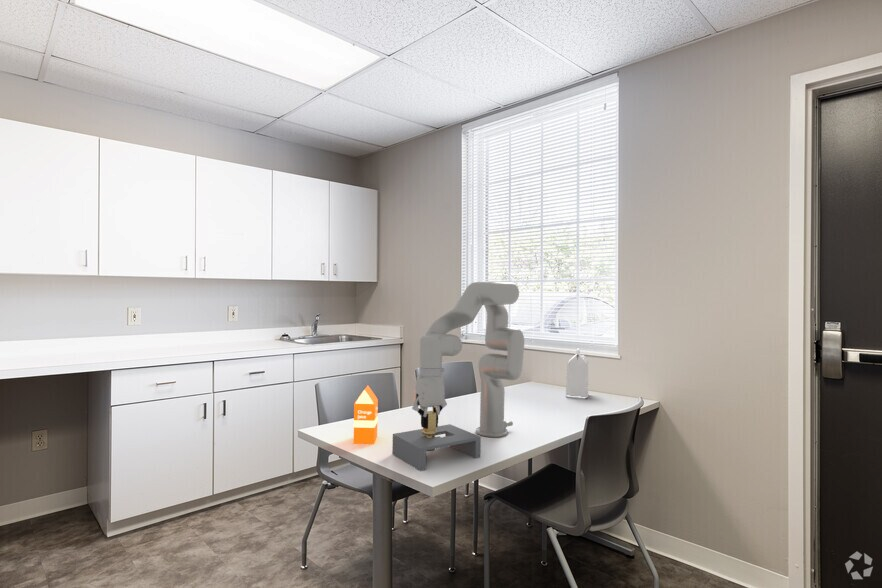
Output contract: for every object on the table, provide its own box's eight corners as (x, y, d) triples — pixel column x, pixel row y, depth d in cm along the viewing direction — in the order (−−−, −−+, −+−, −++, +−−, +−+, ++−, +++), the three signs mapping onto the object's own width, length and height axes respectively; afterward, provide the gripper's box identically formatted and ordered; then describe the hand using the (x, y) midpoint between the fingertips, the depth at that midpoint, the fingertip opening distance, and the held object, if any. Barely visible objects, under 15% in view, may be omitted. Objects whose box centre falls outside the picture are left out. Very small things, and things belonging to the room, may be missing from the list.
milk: (567, 393, 273) (568, 347, 273) (588, 394, 270) (589, 348, 270) (565, 397, 262) (566, 349, 262) (587, 399, 258) (588, 350, 258)
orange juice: (377, 436, 184) (378, 384, 184) (374, 444, 175) (375, 389, 175) (357, 436, 184) (358, 384, 184) (352, 443, 175) (353, 388, 175)
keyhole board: (449, 443, 178) (450, 424, 178) (480, 457, 163) (480, 436, 163) (392, 454, 165) (392, 433, 164) (420, 471, 150) (420, 448, 150)
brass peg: (431, 446, 166) (431, 409, 166) (439, 450, 162) (440, 413, 162) (418, 448, 163) (419, 411, 163) (426, 452, 159) (427, 414, 159)
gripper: (444, 369, 170) (443, 421, 170) (403, 372, 161) (402, 427, 161) (456, 372, 164) (455, 426, 164) (415, 376, 154) (414, 433, 154)
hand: (429, 426), depth 162 cm, fingers closed on brass peg, 3 cm apart
